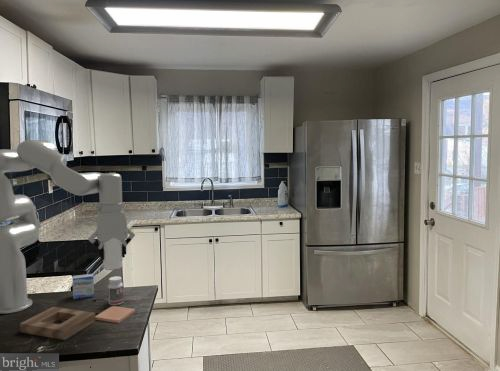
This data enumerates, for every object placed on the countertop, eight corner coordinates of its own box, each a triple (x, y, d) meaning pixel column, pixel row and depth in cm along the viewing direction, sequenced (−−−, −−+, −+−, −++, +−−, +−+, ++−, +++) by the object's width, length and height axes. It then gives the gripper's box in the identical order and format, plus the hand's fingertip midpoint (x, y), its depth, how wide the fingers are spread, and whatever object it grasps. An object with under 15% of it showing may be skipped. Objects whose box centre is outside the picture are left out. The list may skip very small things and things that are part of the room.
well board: (20, 332, 126) (20, 323, 125) (53, 314, 139) (53, 306, 139) (65, 340, 120) (64, 330, 120) (95, 321, 134) (94, 312, 134)
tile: (94, 319, 135) (94, 316, 135) (112, 308, 145) (112, 305, 144) (118, 323, 132) (118, 320, 132) (135, 311, 142) (135, 309, 142)
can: (116, 270, 133) (115, 237, 132) (99, 269, 134) (98, 236, 133) (126, 265, 139) (125, 233, 138) (110, 264, 140) (108, 232, 139)
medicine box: (73, 299, 153) (72, 278, 152) (73, 295, 157) (72, 275, 156) (94, 296, 156) (93, 276, 155) (94, 292, 160) (93, 272, 160)
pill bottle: (126, 301, 151) (126, 277, 150) (114, 306, 146) (114, 281, 145) (117, 298, 154) (116, 275, 153) (105, 303, 149) (104, 279, 148)
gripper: (85, 211, 127) (87, 264, 129) (138, 208, 135) (139, 257, 137) (83, 208, 134) (85, 258, 136) (134, 205, 142) (135, 252, 144)
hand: (112, 257), depth 136 cm, fingers closed on can, 6 cm apart
